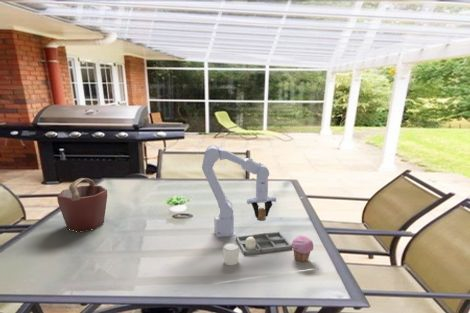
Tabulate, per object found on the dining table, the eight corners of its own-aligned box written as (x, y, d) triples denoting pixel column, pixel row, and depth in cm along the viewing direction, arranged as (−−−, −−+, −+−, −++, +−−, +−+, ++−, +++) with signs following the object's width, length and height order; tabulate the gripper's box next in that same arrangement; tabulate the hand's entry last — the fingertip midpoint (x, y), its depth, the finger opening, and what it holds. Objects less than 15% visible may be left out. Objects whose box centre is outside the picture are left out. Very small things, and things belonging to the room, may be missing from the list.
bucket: (88, 237, 149) (83, 187, 144) (48, 233, 153) (42, 185, 148) (117, 218, 172) (113, 174, 167) (81, 215, 177) (77, 172, 172)
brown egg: (258, 221, 151) (258, 210, 149) (255, 217, 155) (255, 206, 154) (267, 220, 152) (267, 209, 151) (264, 217, 156) (264, 206, 155)
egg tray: (244, 256, 132) (244, 251, 132) (235, 240, 146) (235, 236, 146) (291, 249, 137) (292, 245, 137) (279, 235, 151) (279, 231, 151)
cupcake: (297, 252, 135) (298, 230, 133) (316, 258, 130) (317, 236, 128) (287, 260, 128) (288, 238, 126) (306, 267, 123) (307, 244, 121)
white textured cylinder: (230, 256, 132) (230, 241, 130) (242, 261, 127) (243, 246, 126) (219, 263, 126) (219, 247, 125) (232, 269, 122) (232, 252, 121)
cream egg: (247, 252, 134) (247, 240, 133) (244, 247, 138) (244, 235, 137) (256, 251, 135) (257, 239, 134) (253, 246, 139) (253, 234, 138)
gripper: (249, 193, 145) (249, 220, 147) (279, 191, 148) (278, 218, 151) (245, 189, 151) (245, 215, 154) (273, 187, 155) (272, 212, 158)
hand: (261, 216), depth 153 cm, fingers closed on brown egg, 4 cm apart
